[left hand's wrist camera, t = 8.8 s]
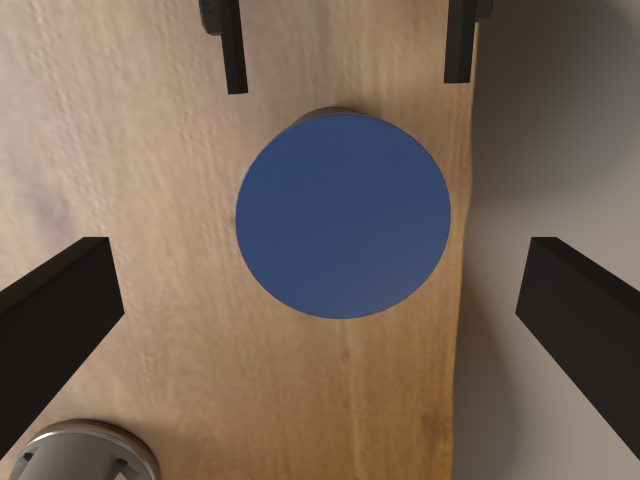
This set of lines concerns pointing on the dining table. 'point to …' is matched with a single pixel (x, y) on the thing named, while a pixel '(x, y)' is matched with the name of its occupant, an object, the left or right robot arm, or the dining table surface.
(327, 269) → the lid
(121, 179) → the dining table surface
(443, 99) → the dining table surface
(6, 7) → the dining table surface
